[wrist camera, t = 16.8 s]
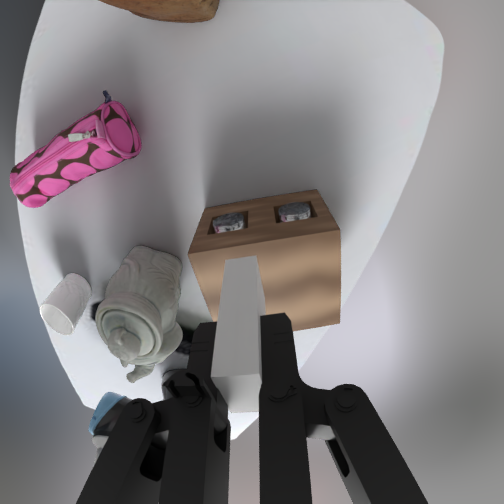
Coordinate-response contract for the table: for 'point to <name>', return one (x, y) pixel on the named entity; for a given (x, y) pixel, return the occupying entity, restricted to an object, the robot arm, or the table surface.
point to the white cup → (66, 304)
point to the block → (169, 9)
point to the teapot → (142, 310)
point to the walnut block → (276, 257)
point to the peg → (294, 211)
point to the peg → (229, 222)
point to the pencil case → (76, 154)
